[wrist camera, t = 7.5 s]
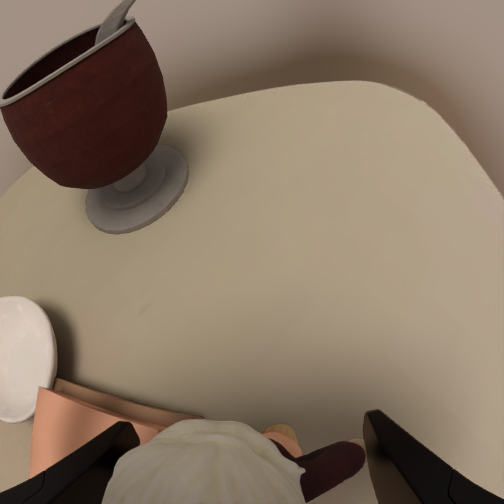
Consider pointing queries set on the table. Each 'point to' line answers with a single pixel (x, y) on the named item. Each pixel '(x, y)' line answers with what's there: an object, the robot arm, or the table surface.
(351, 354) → the table surface
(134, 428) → the robot arm
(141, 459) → the grandmother figurine
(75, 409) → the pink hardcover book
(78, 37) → the mate gourd
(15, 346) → the spoon rest
